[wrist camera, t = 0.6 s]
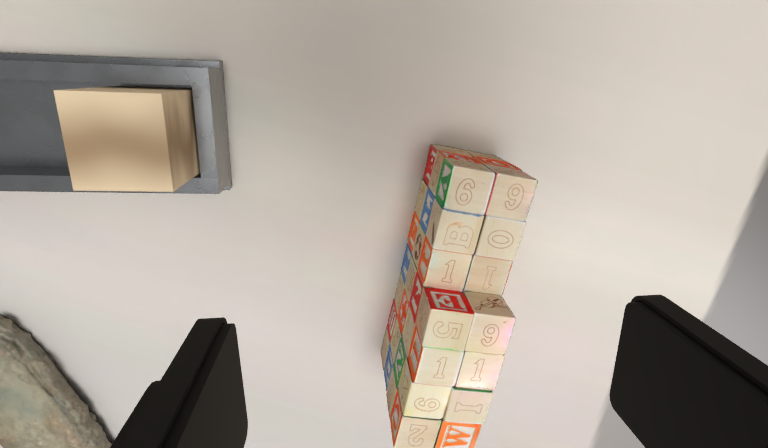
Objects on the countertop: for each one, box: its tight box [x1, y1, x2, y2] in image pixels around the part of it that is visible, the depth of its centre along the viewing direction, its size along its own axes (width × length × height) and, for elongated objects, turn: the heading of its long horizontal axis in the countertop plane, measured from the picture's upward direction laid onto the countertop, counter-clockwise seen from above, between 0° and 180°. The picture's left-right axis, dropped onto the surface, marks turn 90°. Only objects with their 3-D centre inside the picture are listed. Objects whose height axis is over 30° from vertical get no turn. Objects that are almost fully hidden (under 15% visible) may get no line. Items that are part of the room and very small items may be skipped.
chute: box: [0, 53, 232, 194], centre depth 33 cm, size 10×26×4 cm, turn 88°
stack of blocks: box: [381, 144, 538, 448], centre depth 36 cm, size 21×6×12 cm, turn 169°
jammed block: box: [54, 86, 200, 192], centre depth 31 cm, size 6×6×8 cm
